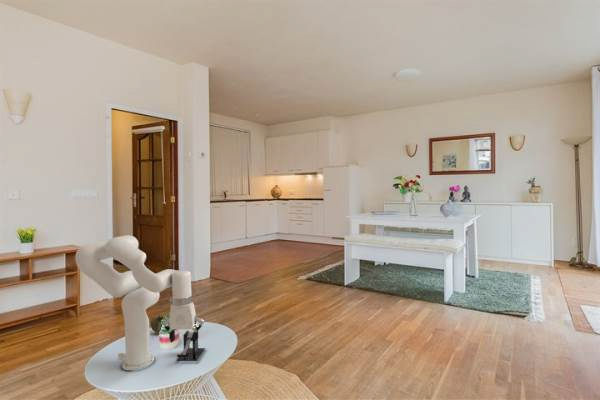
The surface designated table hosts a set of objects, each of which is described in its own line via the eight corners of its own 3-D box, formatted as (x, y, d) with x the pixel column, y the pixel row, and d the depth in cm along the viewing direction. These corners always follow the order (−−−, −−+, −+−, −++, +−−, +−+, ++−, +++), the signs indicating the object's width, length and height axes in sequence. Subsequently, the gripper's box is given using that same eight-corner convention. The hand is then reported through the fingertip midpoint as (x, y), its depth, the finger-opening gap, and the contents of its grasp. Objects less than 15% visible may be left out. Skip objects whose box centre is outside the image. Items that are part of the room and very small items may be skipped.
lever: (189, 359, 142) (188, 355, 141) (177, 359, 143) (176, 355, 141) (197, 336, 153) (196, 332, 152) (186, 336, 153) (185, 332, 152)
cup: (147, 335, 175) (146, 319, 175) (158, 329, 181) (158, 315, 181) (157, 337, 172) (157, 322, 171) (169, 332, 178) (168, 317, 178)
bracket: (197, 362, 146) (196, 338, 146) (176, 362, 146) (175, 338, 146) (205, 350, 157) (204, 327, 157) (185, 350, 157) (185, 327, 157)
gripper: (158, 304, 138) (159, 345, 139) (199, 303, 138) (201, 344, 138) (165, 298, 146) (167, 337, 146) (205, 297, 145) (207, 336, 146)
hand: (184, 340), depth 142 cm, fingers open, 9 cm apart
